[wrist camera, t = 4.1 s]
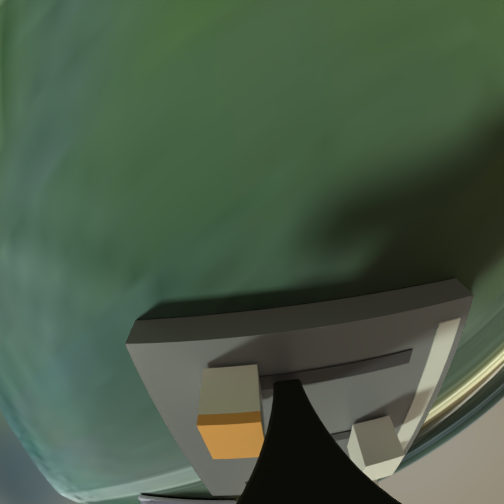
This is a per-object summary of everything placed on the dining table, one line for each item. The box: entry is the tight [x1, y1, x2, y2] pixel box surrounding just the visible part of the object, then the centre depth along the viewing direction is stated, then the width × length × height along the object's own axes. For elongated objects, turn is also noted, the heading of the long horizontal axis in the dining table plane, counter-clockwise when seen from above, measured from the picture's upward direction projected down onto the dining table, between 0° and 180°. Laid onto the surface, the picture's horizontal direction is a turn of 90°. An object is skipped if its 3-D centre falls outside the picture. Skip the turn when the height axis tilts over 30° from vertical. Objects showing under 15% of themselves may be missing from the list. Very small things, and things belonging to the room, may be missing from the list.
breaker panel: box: [125, 278, 474, 496], centre depth 13 cm, size 14×16×4 cm
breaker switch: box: [197, 364, 266, 459], centre depth 10 cm, size 2×2×3 cm
